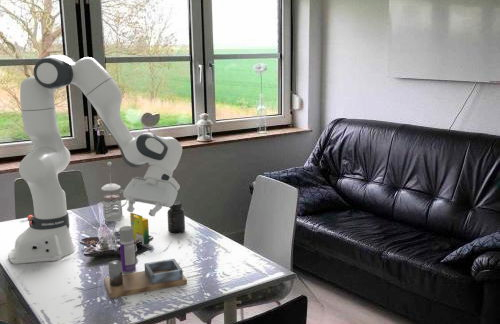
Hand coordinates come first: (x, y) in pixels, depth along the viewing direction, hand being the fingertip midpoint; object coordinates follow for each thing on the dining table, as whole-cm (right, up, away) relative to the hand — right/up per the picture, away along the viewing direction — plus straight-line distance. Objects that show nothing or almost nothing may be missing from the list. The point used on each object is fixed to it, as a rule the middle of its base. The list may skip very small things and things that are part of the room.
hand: (140, 213), depth 183 cm
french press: (-22, -7, +52) cm, 56 cm away
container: (-3, -19, -2) cm, 20 cm away
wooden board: (+4, -21, -12) cm, 25 cm away
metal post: (-4, -21, -16) cm, 26 cm away
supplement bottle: (+8, -11, +34) cm, 37 cm away
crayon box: (-5, -14, +23) cm, 27 cm away
